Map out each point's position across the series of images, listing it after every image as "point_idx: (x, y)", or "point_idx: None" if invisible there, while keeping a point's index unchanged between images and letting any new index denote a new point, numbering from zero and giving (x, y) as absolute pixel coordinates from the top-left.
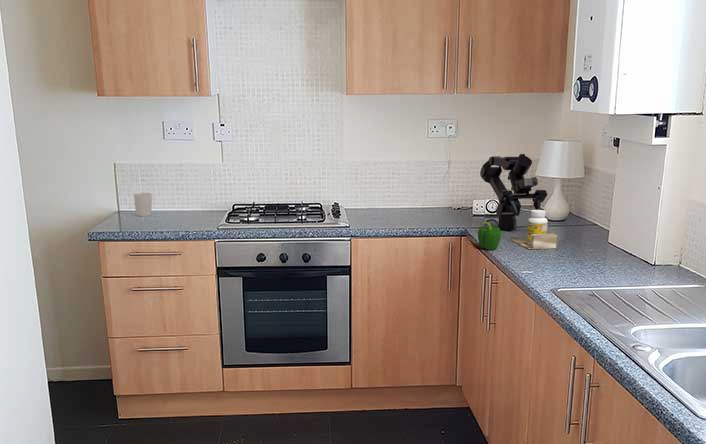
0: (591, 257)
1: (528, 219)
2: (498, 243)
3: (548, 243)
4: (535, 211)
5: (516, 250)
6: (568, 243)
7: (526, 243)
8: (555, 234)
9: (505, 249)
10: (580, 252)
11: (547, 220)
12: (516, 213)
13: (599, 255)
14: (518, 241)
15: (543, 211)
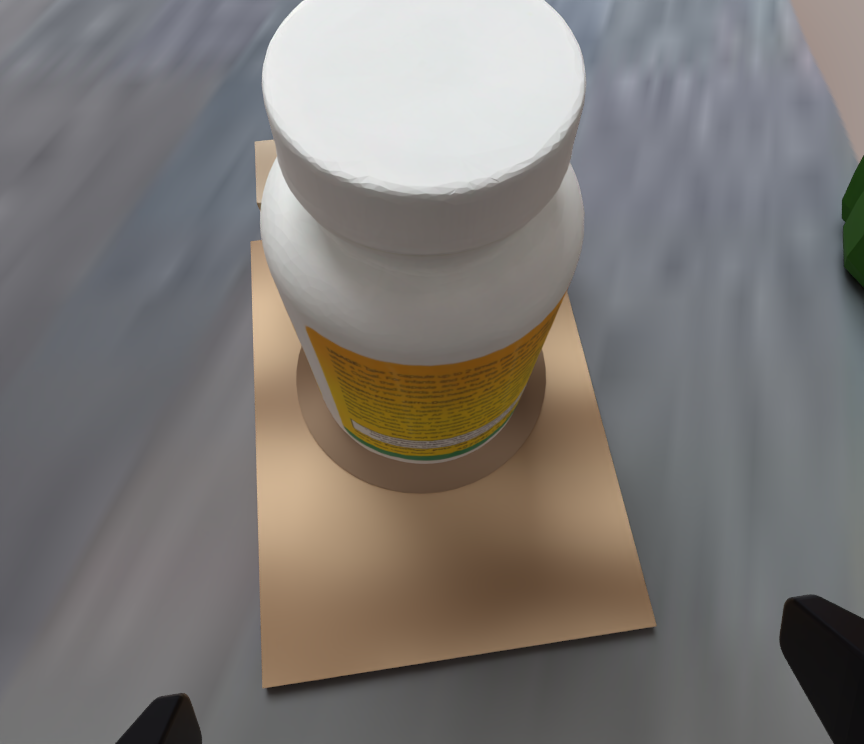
0: (133, 42)
1: (581, 229)
2: (859, 166)
3: None
4: (507, 19)
5: (657, 204)
6: (30, 467)
7: (523, 395)
8: (257, 167)
9: (752, 233)
10: (130, 154)
11: (275, 160)
12: (818, 607)
13: (35, 84)
14: (591, 500)
15: (330, 15)
